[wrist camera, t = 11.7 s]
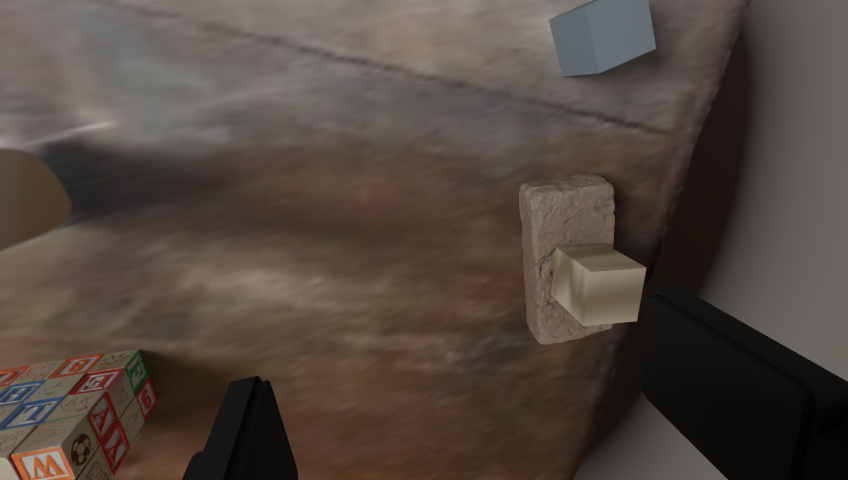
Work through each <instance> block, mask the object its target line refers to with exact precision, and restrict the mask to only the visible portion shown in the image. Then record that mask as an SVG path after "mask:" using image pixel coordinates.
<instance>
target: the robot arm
mask: <svg viewBox="0 0 848 480" xmlns="http://www.w3.org/2000/svg"><path fill="white" fill-rule="evenodd" d="M641 388H642V391H643V394H644V395H645V397H646V398H647V399H648V401H649V402H651V403H652V404H653V405H654V406H655V407H656V408H657V409H658V410H659V411H660V412H661V413H662V414H663V415H664V416H665V417H666V418H667V419H668V420H669V421H670V422H671V423H672V424H673V425H674V426H675V427H676V428H677V429H678V430H679V431H680V432H681V433H682V434H683V435H684V436H685V437H686V438H687V439H688V440H689V441H690V442H691V443H692V444H693V445H694V446H695V447H696V448H697V449H698V450H699V451H700V452H701V453H702V454H703V455H704V456H705V457H706V458H707V459H708V460H709V461H710V462H711V463H712V464H713V465H714V466H715V467H716V468H717V469H718V470H719V471H720V472H721V473H722V474H723V475H724V476H725V477H726V478H727V479H728V480H848V382H847V381H845V380H844V379H842V378H840V377H838V376H837V375H835V374H833V373H831V372H829V371H828V370H826V369H824V368H822V367H821V366H819V365H817V364H815V363H814V362H812V361H810V360H808V359H806V358H805V357H803V356H801V355H799V354H797V353H796V352H794V351H792V350H790V349H789V348H787V347H785V346H783V345H782V344H780V343H778V342H776V341H775V340H773V339H771V338H769V337H768V336H766V335H764V334H762V333H760V332H759V331H757V330H755V329H753V328H751V327H750V326H748V325H746V324H745V323H743V322H740V321H739V320H737V319H736V318H734V317H732V316H730V315H729V314H727V313H725V312H723V311H722V310H720V309H718V308H716V307H714V306H713V305H711V304H709V303H707V302H705V301H704V300H702V299H700V298H698V297H697V296H695V295H693V294H691V293H690V292H688V291H686V290H684V289H683V288H680V287H677V286H675V287H670V288H665V289H660V290H656V291H654V292H652V294H651V296H650V298H648V299H647V301H646V306H645V323H644V341H643V356H642V373H641ZM182 480H298V471H297V467H296V464H295V461H294V457H293V454H292V451H291V448H290V444H289V441H288V438H287V435H286V431H285V428H284V425H283V422H282V418H281V415H280V412H279V409H278V406H277V402H276V399H275V396H274V393H273V389H272V386H271V384H270V382H269V381H268V380H267V381H263V382H262V380H261V379H260V377H259V376H255V377H250V378H246V379H241V380H236V381H233V382H231V383H230V385H229V387H228V390H227V392H226V395H225V397H224V400H223V402H222V405H221V407H220V410H219V412H218V415H217V417H216V420H215V423H214V425H213V428H212V430H211V433H210V435H209V438H208V440H207V443H206V445H205V448H204V450H203V451H202V452H198V453H196V454H195V455H194V456H193V457H192V459H191V460H190V462H189V464H188V467H187V469H186V471H185V474H184V476H183V478H182Z"/></svg>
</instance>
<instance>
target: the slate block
mask: <svg viewBox="0 0 848 480" xmlns="http://www.w3.org/2000/svg"><path fill="white" fill-rule="evenodd" d="M549 24H550V28H551V32H552V36H553V40H554V44H555V48H556V52H557V56H558V60H559V64H560V68H561V72H562V76H563V77H565V76H576V75H587V74H599V73H602V72H604V71H606V70H609V69H611V68H613V67H615V66H618V65H620V64H622V63H624V62H627V61H629V60H631V59H634V58H636V57H638V56H640V55H643V54H645V53H647V52H649V51H652V50H654V49H656V44H655V38H654V32H653V26H652V20H651V14H650V8H649V2H648V0H593V1H591V2H589V3H586V4H584V5H582V6H579V7H577V8H575V9H572V10H570V11H568V12H565V13H563V14H561V15H559V16H556V17H554V18H552V19H549Z"/></svg>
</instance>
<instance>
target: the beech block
mask: <svg viewBox="0 0 848 480" xmlns="http://www.w3.org/2000/svg"><path fill="white" fill-rule="evenodd" d="M645 273H646V267H644V266H643V265H641V264H639V263H637V262H636V261H634V260H632V259H630V258H628V257H627V256H625V255H623V254H621V253H620V252H618V251H616V250H614V249H613V248H611V247H609V246H607V245H606V244H597V245H582V246H567V247H556V254H555V264H554V273H553V283H552V292H551V296H553V297H554V298H555V299H556V300H557V301H558V302H559V303H560V304H561V305H562V306H563V307H564V308H565V309H566V310H567V311H568V312H569V313H570V314H571V315H572V316H573V317H574V318H575V319H576V320H577V321H579V322H580V323H581V324H582V325H583V326H593V325H602V324H612V323H622V322H632V321H637V317H638V311H639V306H640V300H641V295H642V289H643V284H644V278H645Z"/></svg>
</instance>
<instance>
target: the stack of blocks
mask: <svg viewBox="0 0 848 480" xmlns="http://www.w3.org/2000/svg"><path fill="white" fill-rule="evenodd" d="M156 403H157V398H156V395H155V392H154V389H153V386H152V384H151V381H150V378H149V376H148V374H147V371H146V368H145V365H144V362H143V359H142V356H141V353H140V350H138V349H137V350H131V351H124V352H117V353H110V354H98V355H92V356H85V357H78V358H72V359H65V360H57V361H51V362H44V363H38V364H33V365H31V366H25V367H21V368H14V369H8V370H1V371H0V480H110V478H111V477H112V476H114V474H115V473H116V471H117V469H118V468H119V466H120V464H121V463H122V461H123V459H124V458H125V456H126V455H127V452H128V451H129V449H130V446H131V445H132V443H133V441H134V439H135V437H136V436H137V434H138V432H139V431H140V429H141V427H142V426H143V424H144V422H145V421H146V420H147V418H148V416H149V415H150V413H151V411H152V410H153V408H154V406H155V405H156Z"/></svg>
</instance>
